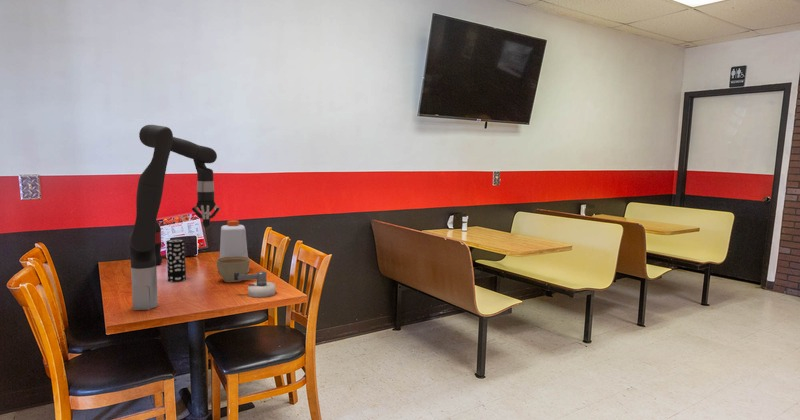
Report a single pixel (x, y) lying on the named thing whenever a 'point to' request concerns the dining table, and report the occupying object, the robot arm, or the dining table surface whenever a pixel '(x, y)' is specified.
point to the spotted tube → (176, 260)
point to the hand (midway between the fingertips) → (206, 226)
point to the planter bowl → (232, 267)
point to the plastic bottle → (233, 240)
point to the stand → (261, 290)
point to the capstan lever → (253, 277)
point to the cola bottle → (158, 245)
